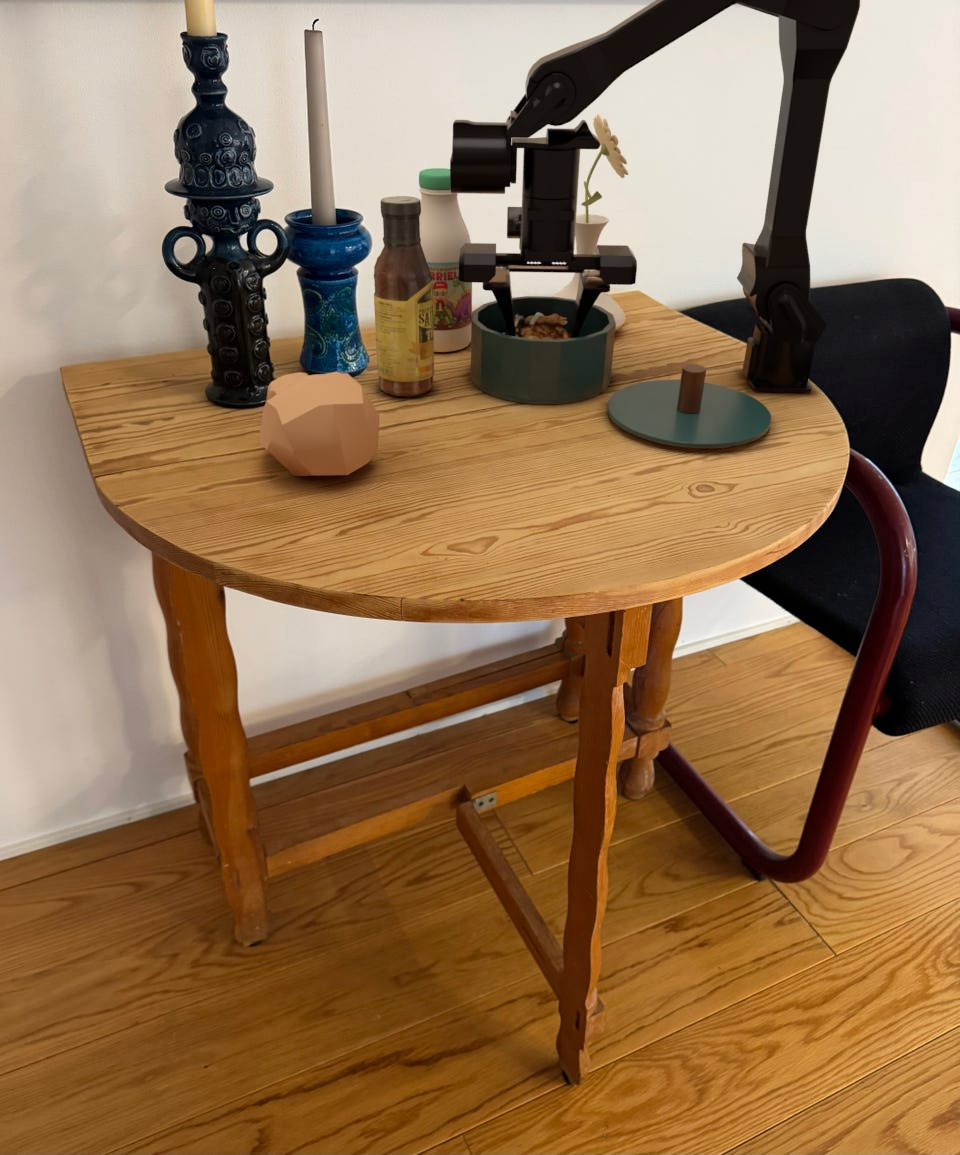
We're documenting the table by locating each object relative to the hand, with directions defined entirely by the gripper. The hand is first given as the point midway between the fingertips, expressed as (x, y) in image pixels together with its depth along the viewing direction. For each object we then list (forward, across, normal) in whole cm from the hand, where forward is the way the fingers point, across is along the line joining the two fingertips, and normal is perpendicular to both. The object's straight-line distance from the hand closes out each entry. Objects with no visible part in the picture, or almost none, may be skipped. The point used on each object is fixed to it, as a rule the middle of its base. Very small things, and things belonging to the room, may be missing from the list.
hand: (542, 341), depth 106 cm
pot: (+4, 0, 0) cm, 4 cm away
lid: (+4, -15, +11) cm, 19 cm away
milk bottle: (+4, +12, -11) cm, 17 cm away
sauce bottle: (+4, +15, +4) cm, 16 cm away
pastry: (+1, -1, 0) cm, 1 cm away
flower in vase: (+4, -6, -18) cm, 19 cm away
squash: (+4, +23, +20) cm, 31 cm away
